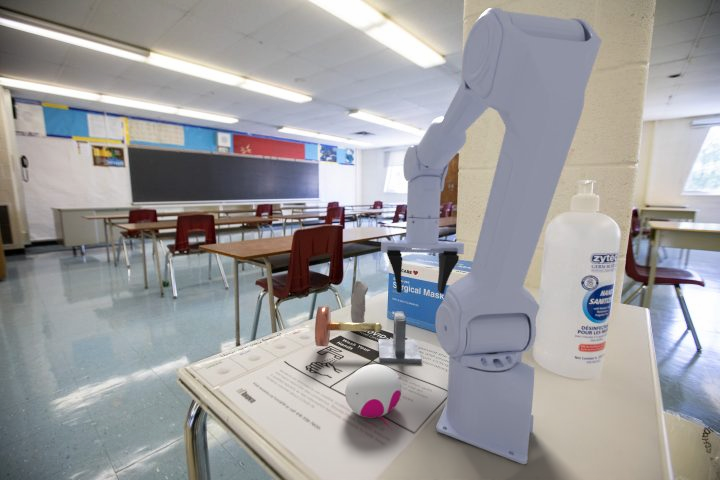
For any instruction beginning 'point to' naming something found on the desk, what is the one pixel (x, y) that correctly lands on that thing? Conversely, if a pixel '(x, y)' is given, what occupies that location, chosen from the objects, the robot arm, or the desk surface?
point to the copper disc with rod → (337, 326)
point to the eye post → (399, 344)
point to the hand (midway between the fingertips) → (419, 291)
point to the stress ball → (373, 391)
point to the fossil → (358, 302)
